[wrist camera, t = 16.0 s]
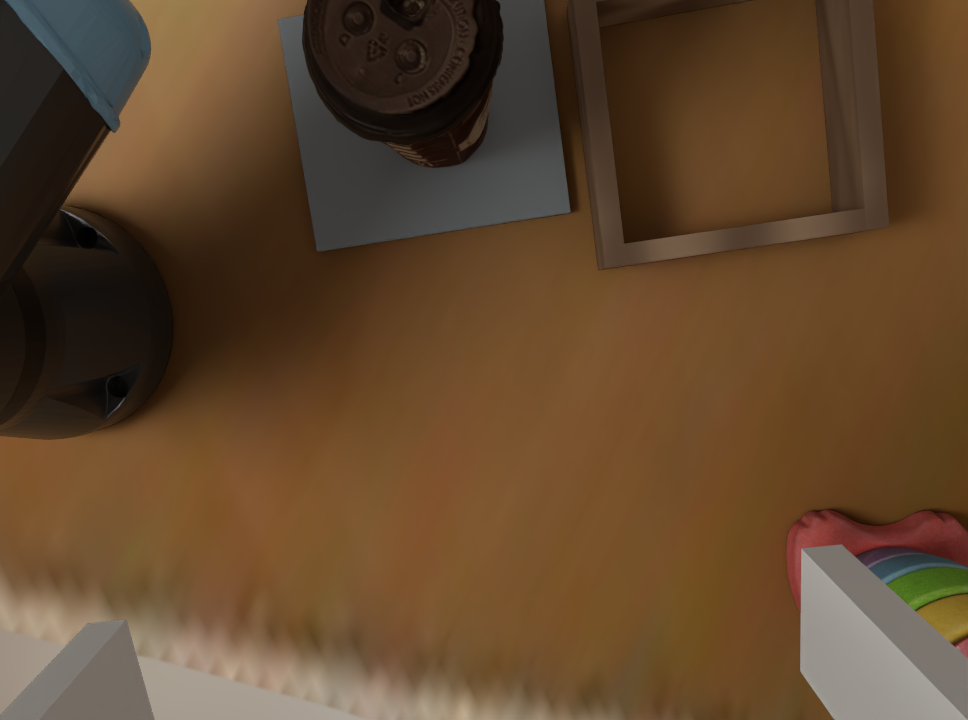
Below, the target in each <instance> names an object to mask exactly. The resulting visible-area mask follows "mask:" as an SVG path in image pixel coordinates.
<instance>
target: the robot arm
mask: <svg viewBox="0 0 968 720" xmlns="http://www.w3.org/2000/svg"><path fill="white" fill-rule="evenodd" d="M150 55H151V41H150V36H149V33H148V29H147V27H146V24H145V22H144V20H143V18H142V16H141V15H140V13H139V12H138V11H137V9H136V8H135V7H134V6H133V4H132V3H131V2H130V1H129V0H0V436H6V437H19V438H31V439H44V440H52V439H64V438H71V437H76V436H80V435H84V434H87V433H90V432H93V431H96V430H99V429H102V428H105V427H108V426H111V425H113V424H115V423H117V422H119V421H121V420H123V419H125V418H126V417H128V416H129V415H131V414H132V413H133V412H135V411H136V410H137V409H138V408H139V407H140V406H141V405H142V404H143V403H144V402H145V401H146V400H147V399H148V398H149V397H150V395H151V394H152V393H153V391H154V390H155V388H156V387H157V385H158V383H159V381H160V380H161V378H162V375H163V373H164V371H165V368H166V366H167V362H168V359H169V355H170V350H171V344H172V313H171V307H170V302H169V298H168V295H167V291H166V288H165V286H164V283H163V280H162V278H161V276H160V274H159V272H158V270H157V268H156V267H155V265H154V263H153V262H152V260H151V259H150V257H149V256H148V254H147V253H146V252H145V250H144V249H143V248H142V247H141V246H140V245H139V243H138V242H137V241H136V240H135V239H134V238H133V237H131V236H130V235H129V234H128V233H127V232H126V231H124V230H123V229H122V228H120V227H119V226H118V225H116V224H115V223H113V222H111V221H110V220H108V219H106V218H104V217H102V216H100V215H98V214H95V213H93V212H90V211H87V210H83V209H80V208H75V207H70V206H64V205H63V203H64V201H65V200H66V198H67V197H68V195H69V194H70V192H71V191H72V189H73V188H74V186H75V185H76V183H77V182H78V180H79V178H80V177H81V175H82V174H83V172H84V171H85V169H86V168H87V166H88V165H89V163H90V162H91V160H92V159H93V157H94V155H95V154H96V152H97V151H98V149H99V148H100V146H101V145H102V143H103V142H104V140H105V139H106V137H107V135H108V134H109V132H110V131H112V132H114V133H115V132H116V131H117V130H118V128H119V127H120V120H119V115H120V113H121V111H122V110H123V108H124V106H125V104H126V102H127V101H128V99H129V97H130V95H131V94H132V92H133V90H134V88H135V87H136V85H137V83H138V81H139V80H140V78H141V76H142V75H143V73H144V71H145V69H146V67H147V65H148V63H149V60H150ZM800 671H801V673H802V674H803V676H804V677H805V679H806V680H807V681H808V683H809V684H810V686H811V687H812V688H813V690H814V691H815V693H816V694H817V696H818V697H819V698H820V700H821V701H822V703H823V704H824V705H825V707H826V708H827V710H828V711H829V713H830V714H831V715H832V717H833V718H834V720H968V658H966V657H965V656H964V655H963V654H962V653H961V652H960V651H959V650H958V649H956V648H955V647H954V646H953V645H952V644H951V643H950V642H949V641H948V640H947V639H945V638H944V637H943V636H942V635H941V634H940V633H939V632H938V631H937V630H936V629H934V628H933V627H932V626H931V625H930V624H929V623H928V622H927V621H926V620H924V619H923V618H922V617H921V616H920V615H919V614H918V613H917V612H916V611H915V610H913V609H912V608H911V607H910V606H909V605H908V604H907V603H906V602H905V601H903V600H902V599H901V598H900V597H899V596H898V595H897V594H896V593H895V592H894V591H892V590H891V589H890V588H889V587H888V586H887V585H886V584H885V583H884V582H882V581H881V580H880V579H879V578H878V577H877V576H876V575H875V574H874V573H873V572H871V571H870V570H869V569H868V568H867V567H866V566H865V565H864V564H863V563H861V562H860V561H859V560H858V559H857V558H856V557H855V556H854V555H853V554H852V553H850V552H849V551H848V550H847V549H846V548H845V547H844V546H843V545H842V544H841V545H831V546H822V547H812V548H803V549H801V656H800ZM0 720H154V716H153V713H152V709H151V706H150V702H149V698H148V695H147V692H146V688H145V684H144V681H143V677H142V674H141V670H140V666H139V663H138V659H137V656H136V652H135V649H134V645H133V642H132V638H131V634H130V631H129V627H128V624H127V620H117V621H107V622H97V623H88V624H87V625H86V626H85V627H84V628H83V629H82V630H81V631H80V632H79V633H78V634H77V635H76V636H75V637H74V638H73V639H72V640H71V641H70V642H69V644H68V645H67V646H66V647H65V648H64V649H63V650H62V651H61V652H60V653H59V654H58V655H57V656H56V657H55V658H54V659H53V660H52V661H51V663H49V664H48V666H47V667H46V668H45V669H44V670H43V671H42V672H41V673H40V674H39V675H38V676H37V677H36V678H35V679H34V680H33V681H32V682H31V683H30V684H29V685H28V686H27V687H26V688H25V689H24V691H23V692H22V693H21V694H20V695H19V696H18V697H17V698H16V699H15V700H14V701H13V702H12V703H11V704H10V705H9V706H8V707H7V708H6V709H5V710H4V711H3V712H2V714H0Z"/></svg>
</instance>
